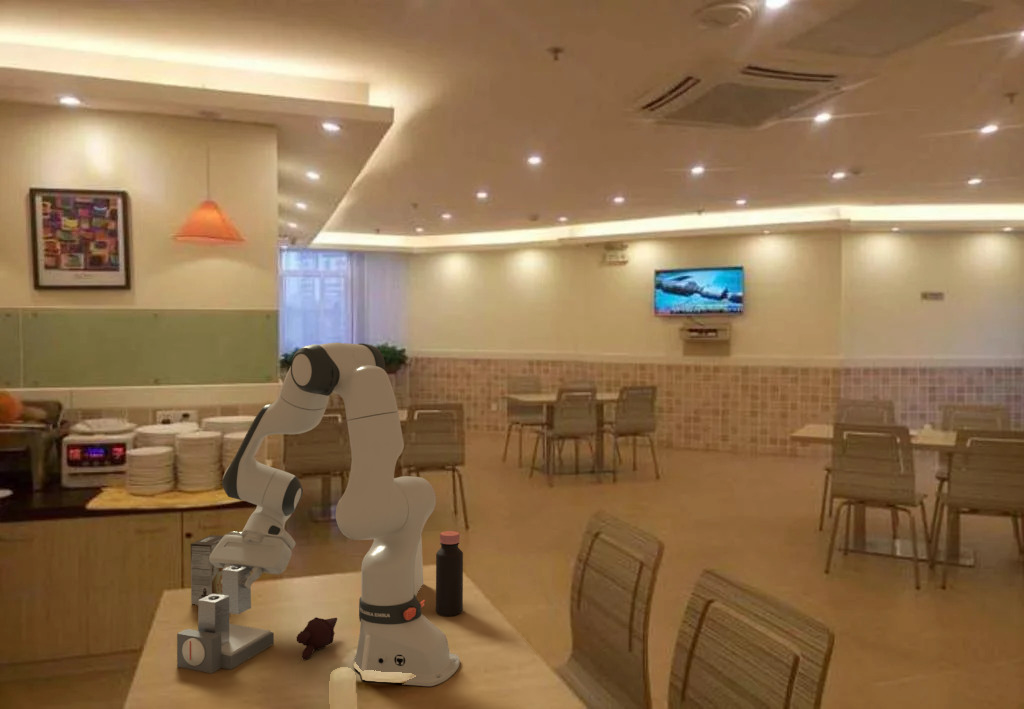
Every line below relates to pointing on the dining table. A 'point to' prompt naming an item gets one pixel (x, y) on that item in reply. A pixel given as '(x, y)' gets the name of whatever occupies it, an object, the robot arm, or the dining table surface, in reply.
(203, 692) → the dining table surface
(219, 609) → the post
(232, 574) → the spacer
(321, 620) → the icecream
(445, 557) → the bottle
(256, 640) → the scale
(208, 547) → the coffee box
